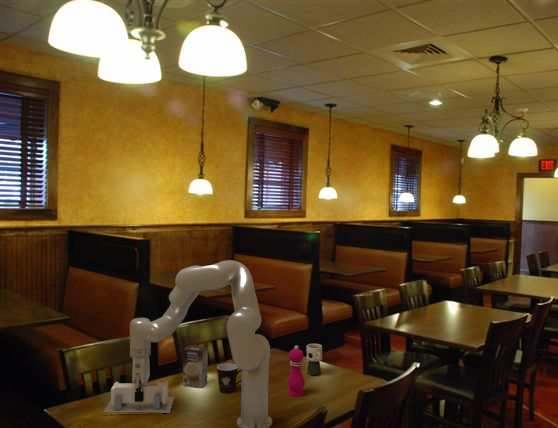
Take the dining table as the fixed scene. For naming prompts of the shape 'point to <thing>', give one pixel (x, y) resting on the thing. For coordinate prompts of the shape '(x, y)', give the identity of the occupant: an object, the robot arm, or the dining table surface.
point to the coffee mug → (227, 377)
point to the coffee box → (195, 366)
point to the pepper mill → (296, 373)
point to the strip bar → (149, 390)
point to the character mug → (314, 358)
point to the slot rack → (141, 405)
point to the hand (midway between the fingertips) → (140, 398)
